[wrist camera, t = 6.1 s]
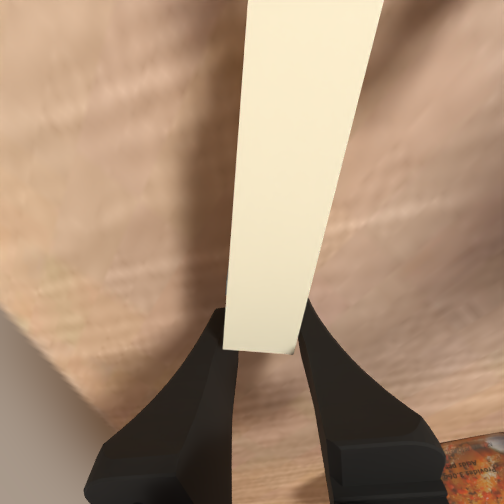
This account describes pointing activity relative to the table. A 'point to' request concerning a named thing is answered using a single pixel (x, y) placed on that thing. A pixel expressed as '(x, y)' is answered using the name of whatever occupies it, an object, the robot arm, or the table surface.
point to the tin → (475, 470)
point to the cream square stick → (290, 157)
